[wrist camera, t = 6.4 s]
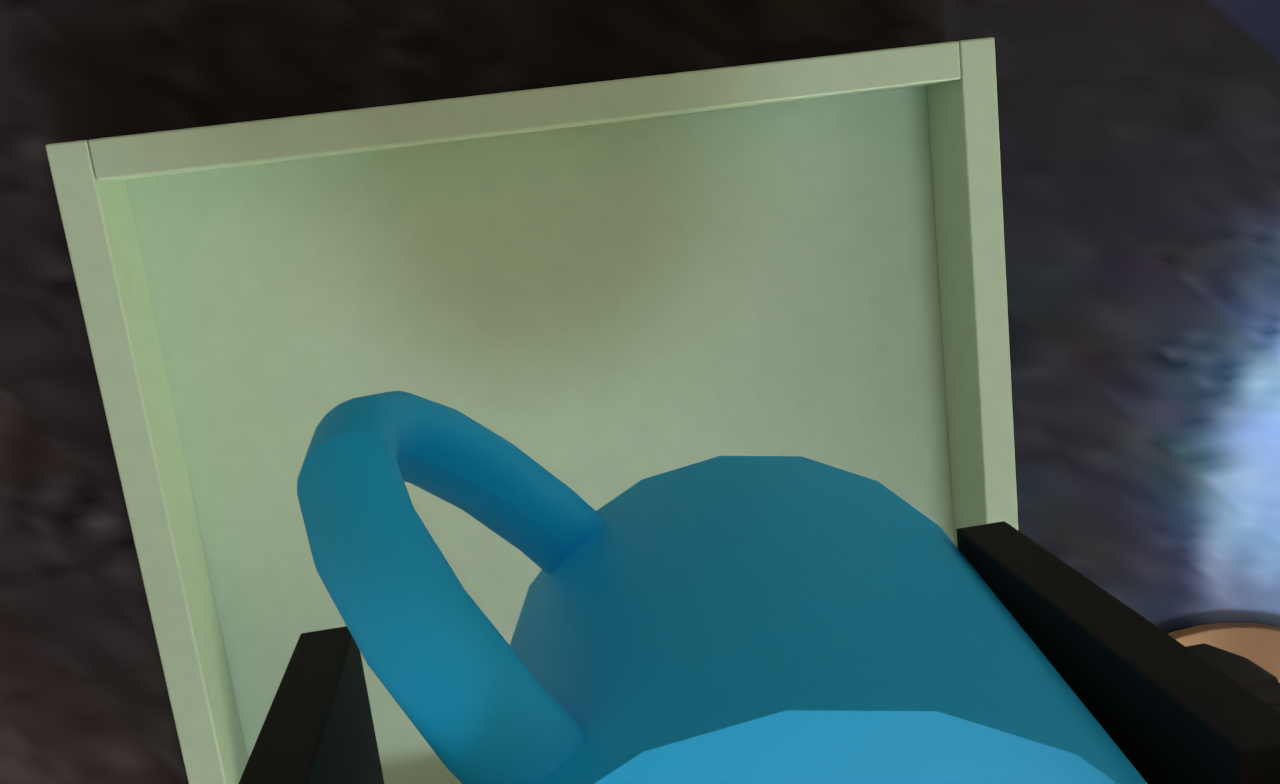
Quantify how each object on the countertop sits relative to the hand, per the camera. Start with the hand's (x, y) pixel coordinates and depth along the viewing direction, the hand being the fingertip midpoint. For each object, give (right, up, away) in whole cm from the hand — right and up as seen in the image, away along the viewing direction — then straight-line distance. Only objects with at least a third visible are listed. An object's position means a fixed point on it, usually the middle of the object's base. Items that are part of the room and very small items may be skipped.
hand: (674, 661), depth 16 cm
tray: (-2, +2, +11) cm, 11 cm away
